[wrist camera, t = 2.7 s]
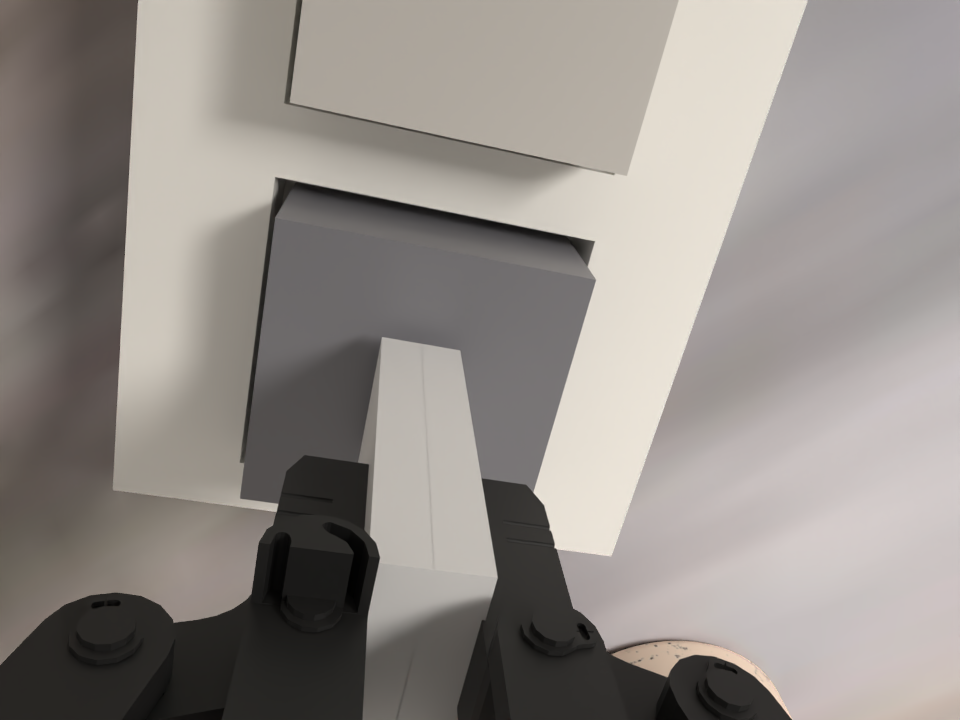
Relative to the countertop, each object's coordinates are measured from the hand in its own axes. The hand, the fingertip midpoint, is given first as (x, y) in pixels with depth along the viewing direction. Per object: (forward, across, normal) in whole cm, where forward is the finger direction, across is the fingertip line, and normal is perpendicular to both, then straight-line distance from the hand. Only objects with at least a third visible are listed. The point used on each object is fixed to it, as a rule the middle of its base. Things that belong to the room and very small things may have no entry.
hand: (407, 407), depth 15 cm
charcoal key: (+3, 0, 0) cm, 3 cm away
